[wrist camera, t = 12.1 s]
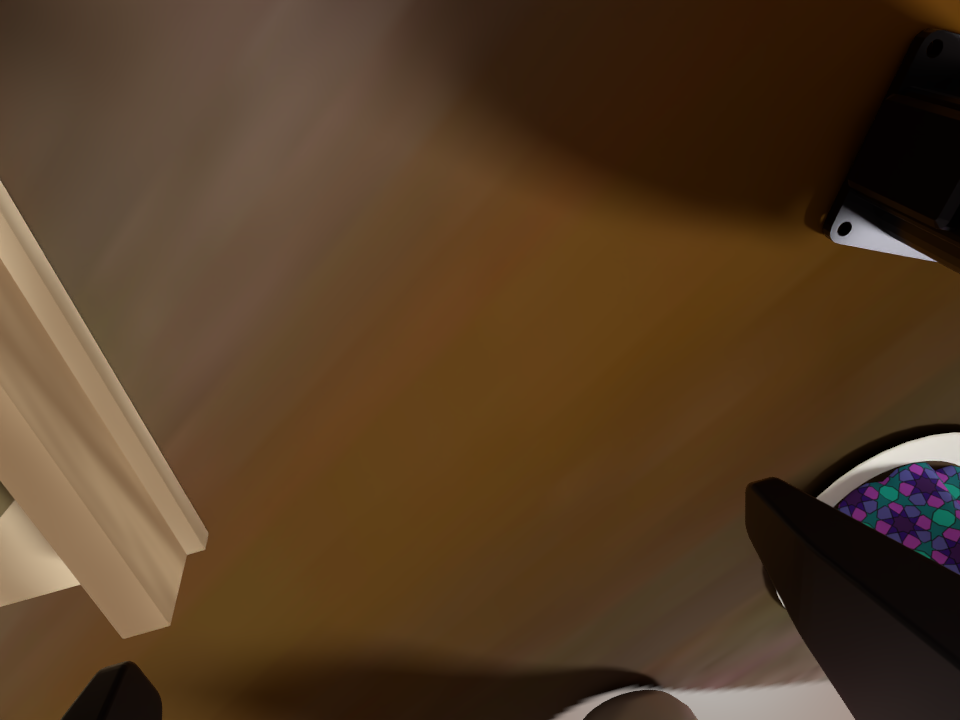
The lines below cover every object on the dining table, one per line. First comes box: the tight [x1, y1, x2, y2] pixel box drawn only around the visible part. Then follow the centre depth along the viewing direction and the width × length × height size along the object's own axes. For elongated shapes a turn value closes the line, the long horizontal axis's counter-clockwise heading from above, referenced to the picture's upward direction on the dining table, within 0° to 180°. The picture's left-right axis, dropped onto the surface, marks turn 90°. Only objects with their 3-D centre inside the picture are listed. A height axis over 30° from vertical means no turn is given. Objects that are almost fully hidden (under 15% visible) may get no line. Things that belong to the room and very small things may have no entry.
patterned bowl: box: [776, 432, 960, 607], centre depth 30 cm, size 12×12×5 cm
